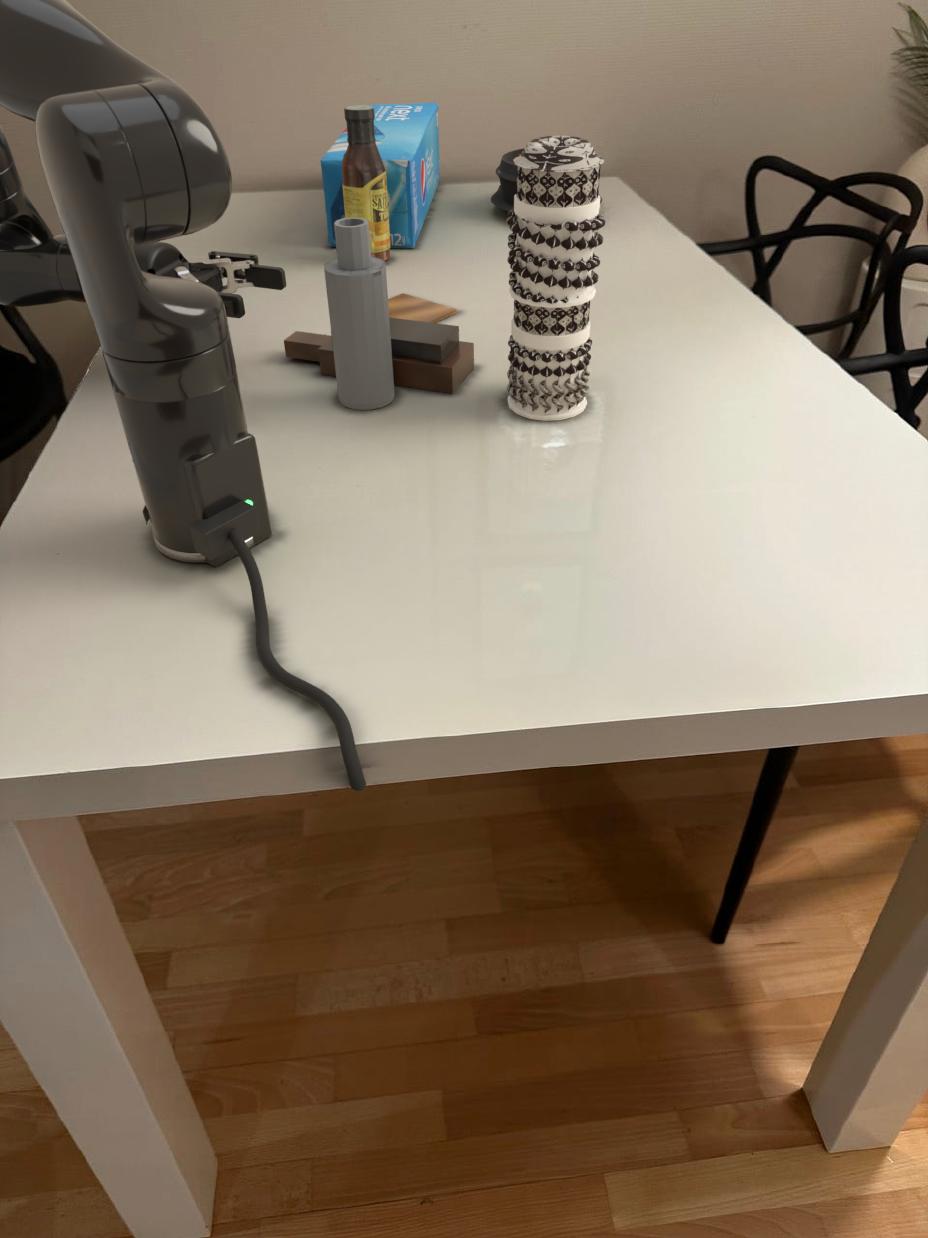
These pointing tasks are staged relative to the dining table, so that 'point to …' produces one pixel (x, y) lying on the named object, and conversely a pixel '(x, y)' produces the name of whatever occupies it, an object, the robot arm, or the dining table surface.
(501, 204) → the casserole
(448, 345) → the scrub brush
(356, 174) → the sauce bottle
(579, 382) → the decorative candle
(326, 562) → the dining table surface
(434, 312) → the cork mat
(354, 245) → the steel bottle
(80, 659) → the dining table surface
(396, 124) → the soda pack
